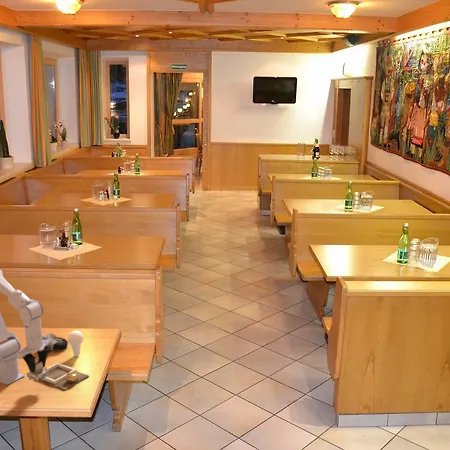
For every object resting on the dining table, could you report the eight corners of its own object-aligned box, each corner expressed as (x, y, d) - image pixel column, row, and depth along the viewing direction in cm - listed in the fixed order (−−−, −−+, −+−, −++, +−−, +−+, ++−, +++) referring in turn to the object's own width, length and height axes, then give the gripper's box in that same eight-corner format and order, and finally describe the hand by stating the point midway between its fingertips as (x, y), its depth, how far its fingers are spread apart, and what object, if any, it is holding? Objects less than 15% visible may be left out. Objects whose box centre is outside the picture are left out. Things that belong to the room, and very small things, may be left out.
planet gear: (22, 377, 210) (21, 363, 208) (39, 368, 216) (38, 355, 214) (36, 382, 206) (34, 368, 204) (53, 373, 212) (51, 360, 210)
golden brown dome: (64, 381, 216) (63, 375, 216) (72, 376, 220) (72, 370, 219) (72, 384, 214) (71, 378, 214) (80, 379, 218) (80, 373, 217)
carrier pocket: (35, 376, 220) (35, 374, 220) (57, 365, 229) (57, 362, 229) (54, 384, 215) (54, 381, 214) (76, 372, 223) (76, 369, 223)
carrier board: (33, 378, 220) (33, 377, 220) (58, 365, 230) (58, 364, 230) (64, 390, 211) (64, 389, 211) (89, 376, 221) (88, 375, 221)
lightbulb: (69, 360, 235) (67, 335, 232) (69, 353, 240) (67, 329, 238) (84, 357, 236) (82, 333, 233) (84, 351, 242) (82, 327, 239)
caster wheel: (69, 351, 248) (56, 358, 239) (47, 342, 251) (33, 349, 242) (72, 336, 247) (59, 343, 237) (50, 328, 250) (36, 334, 241)
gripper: (24, 345, 199) (28, 380, 202) (57, 330, 210) (60, 363, 214) (11, 340, 203) (15, 375, 206) (44, 325, 214) (47, 359, 218)
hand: (37, 369), depth 210 cm, fingers closed on planet gear, 4 cm apart
